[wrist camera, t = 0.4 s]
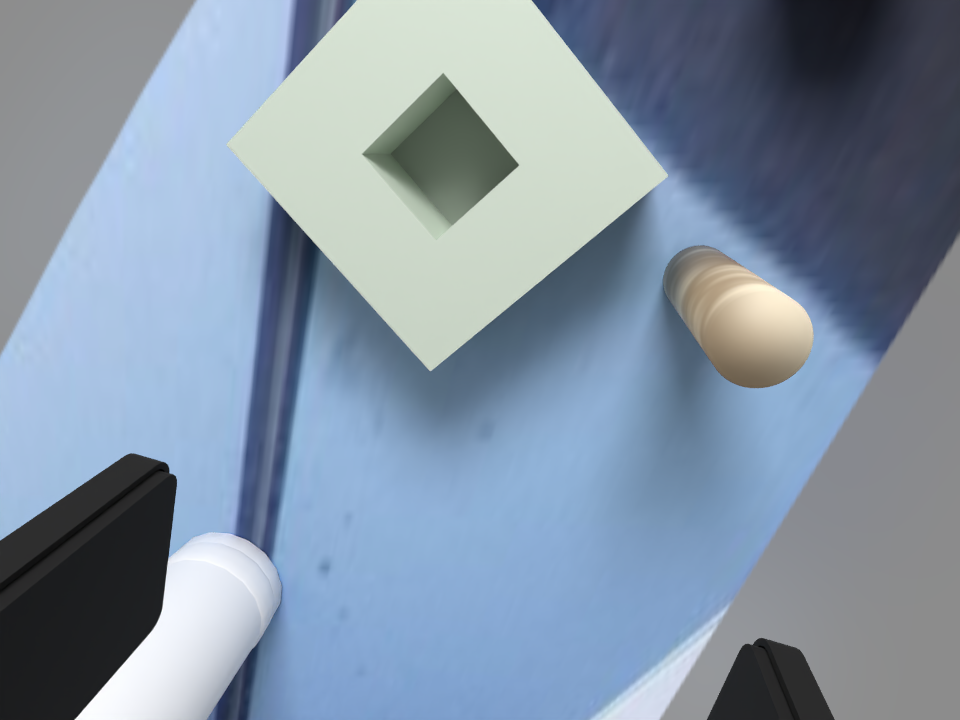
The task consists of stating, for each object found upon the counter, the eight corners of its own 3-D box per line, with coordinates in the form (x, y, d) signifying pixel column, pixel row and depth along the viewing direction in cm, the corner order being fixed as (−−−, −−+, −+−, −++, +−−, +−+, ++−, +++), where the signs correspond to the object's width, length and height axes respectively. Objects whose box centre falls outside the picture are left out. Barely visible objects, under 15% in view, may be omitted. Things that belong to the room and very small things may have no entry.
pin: (706, 231, 34) (774, 270, 23) (747, 283, 35) (834, 348, 23) (649, 275, 35) (687, 334, 24) (690, 325, 36) (746, 406, 24)
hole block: (472, -57, 32) (450, -103, 26) (651, 171, 34) (668, 175, 28) (280, 145, 36) (226, 144, 30) (451, 338, 38) (430, 371, 32)
